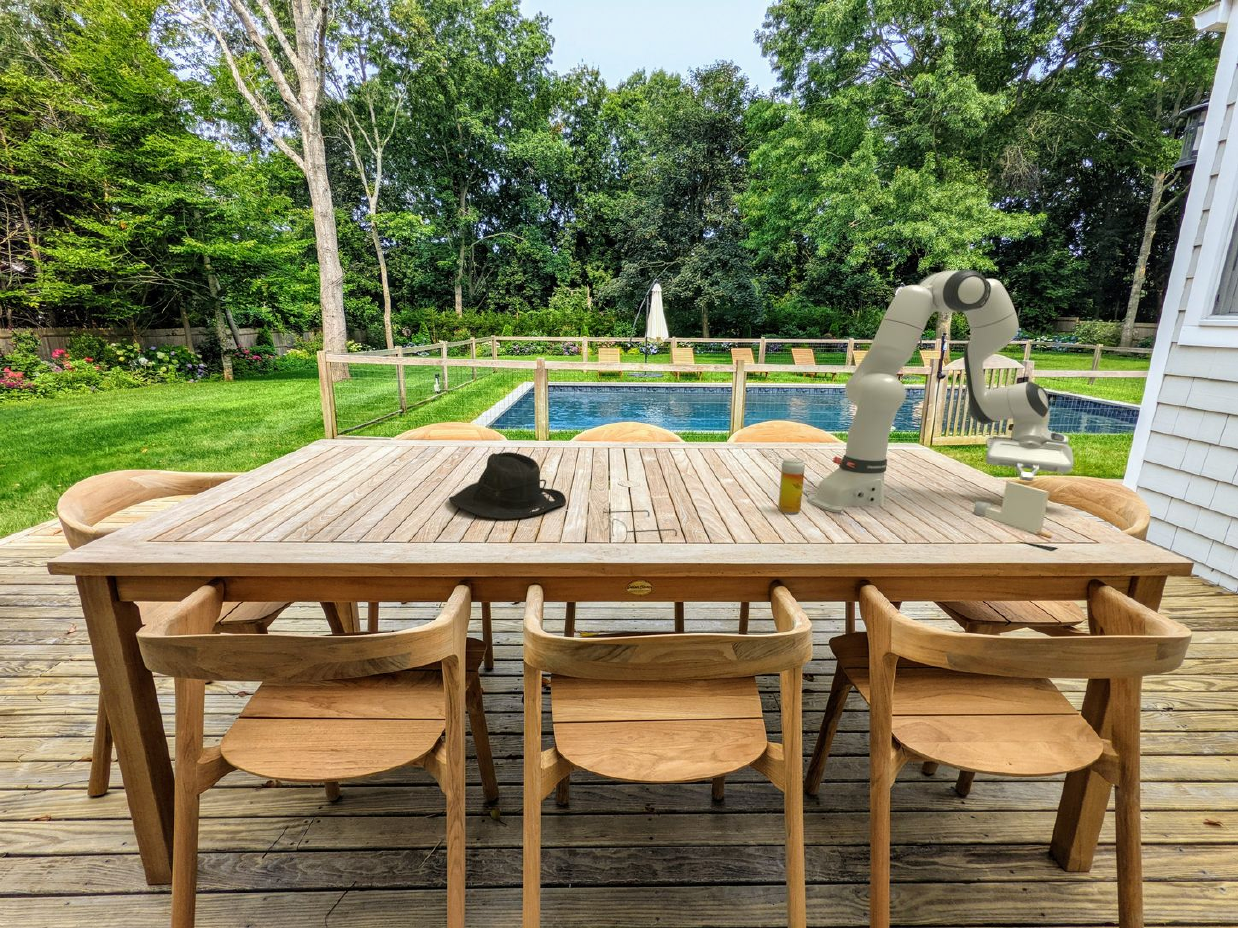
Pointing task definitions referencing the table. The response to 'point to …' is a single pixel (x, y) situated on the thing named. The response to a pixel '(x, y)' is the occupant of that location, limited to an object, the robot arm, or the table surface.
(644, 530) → the eyeglasses
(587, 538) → the table surface
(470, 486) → the hat
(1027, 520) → the peg
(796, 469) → the beer glass
